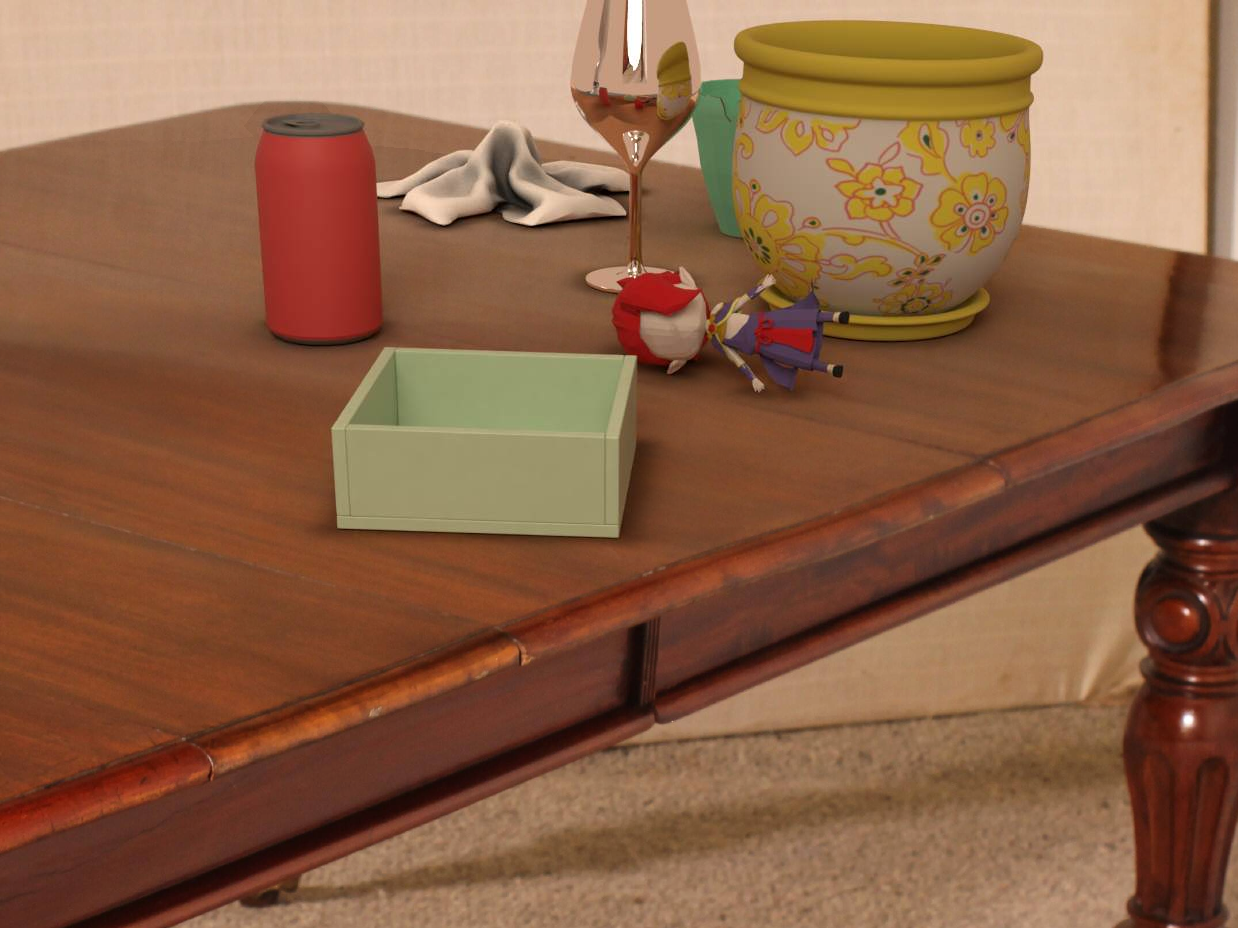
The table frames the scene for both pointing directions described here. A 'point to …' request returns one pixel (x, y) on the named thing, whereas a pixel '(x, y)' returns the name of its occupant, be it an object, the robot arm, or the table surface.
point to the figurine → (719, 327)
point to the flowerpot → (882, 168)
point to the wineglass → (635, 94)
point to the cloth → (508, 183)
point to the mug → (718, 147)
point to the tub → (488, 443)
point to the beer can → (319, 228)
